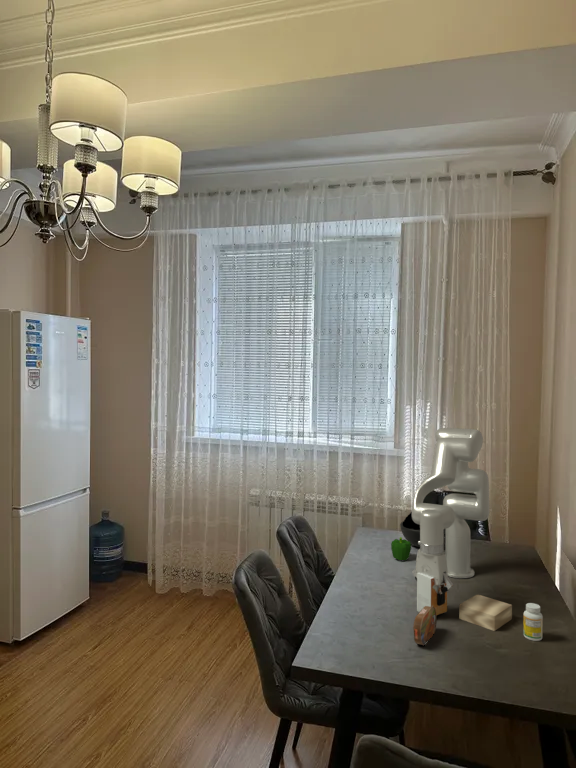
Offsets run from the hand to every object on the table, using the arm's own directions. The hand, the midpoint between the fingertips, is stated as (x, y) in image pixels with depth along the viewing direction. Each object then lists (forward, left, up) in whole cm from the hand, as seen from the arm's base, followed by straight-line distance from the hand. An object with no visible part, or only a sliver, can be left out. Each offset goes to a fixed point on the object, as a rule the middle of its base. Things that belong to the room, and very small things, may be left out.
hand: (432, 600), depth 185 cm
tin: (+9, -15, -5) cm, 19 cm away
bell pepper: (-42, +34, -5) cm, 54 cm away
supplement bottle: (+29, +11, -5) cm, 31 cm away
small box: (0, 0, -4) cm, 4 cm away
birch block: (+13, +11, -5) cm, 18 cm away
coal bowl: (-47, +55, -5) cm, 72 cm away
